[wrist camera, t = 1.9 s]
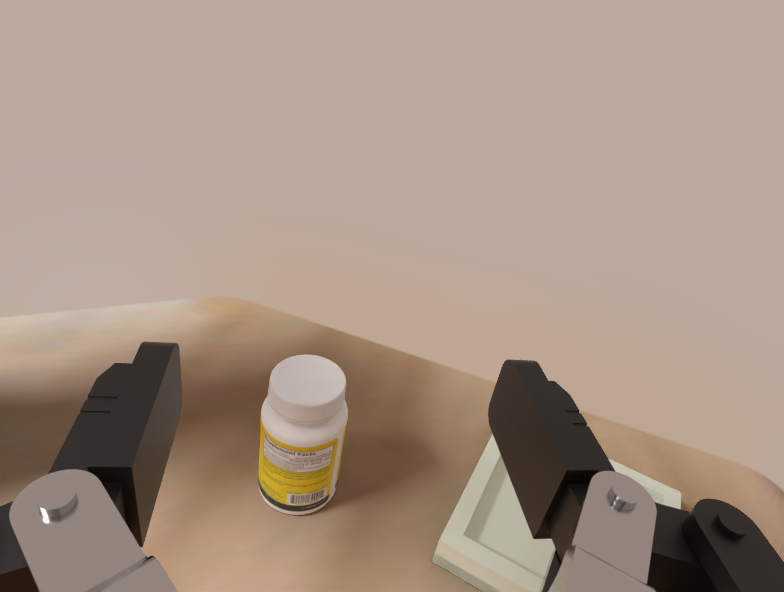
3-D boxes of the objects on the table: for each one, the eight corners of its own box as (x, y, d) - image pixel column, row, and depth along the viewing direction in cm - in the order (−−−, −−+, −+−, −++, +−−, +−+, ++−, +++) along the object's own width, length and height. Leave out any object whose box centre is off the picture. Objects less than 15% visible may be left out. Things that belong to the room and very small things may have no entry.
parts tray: (431, 561, 29) (439, 539, 28) (496, 430, 39) (504, 410, 38) (656, 693, 25) (675, 674, 24) (667, 511, 35) (681, 492, 34)
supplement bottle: (290, 440, 35) (300, 338, 30) (351, 475, 33) (370, 373, 29) (239, 491, 31) (242, 382, 26) (305, 533, 29) (320, 424, 25)
